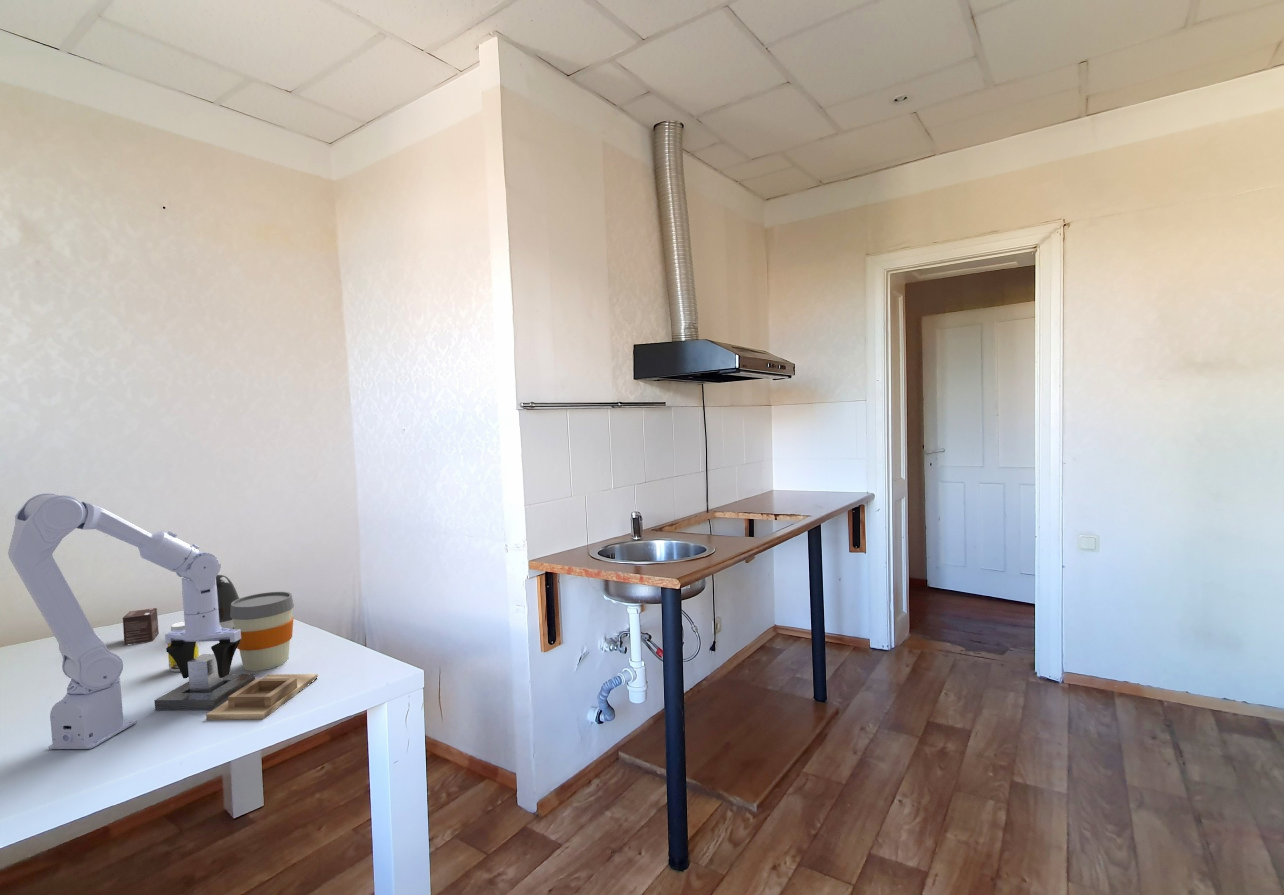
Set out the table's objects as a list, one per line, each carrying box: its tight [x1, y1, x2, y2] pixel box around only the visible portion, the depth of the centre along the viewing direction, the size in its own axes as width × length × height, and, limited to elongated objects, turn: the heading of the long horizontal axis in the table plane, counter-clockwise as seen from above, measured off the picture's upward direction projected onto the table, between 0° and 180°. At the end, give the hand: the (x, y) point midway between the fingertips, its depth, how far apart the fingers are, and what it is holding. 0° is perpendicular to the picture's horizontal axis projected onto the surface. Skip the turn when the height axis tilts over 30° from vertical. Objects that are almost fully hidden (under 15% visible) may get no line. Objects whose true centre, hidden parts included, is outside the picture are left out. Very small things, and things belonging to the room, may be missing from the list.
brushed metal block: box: [188, 653, 224, 693], centre depth 128 cm, size 4×4×8 cm
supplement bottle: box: [167, 621, 200, 673], centre depth 144 cm, size 6×6×10 cm
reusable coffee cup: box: [230, 591, 295, 672], centre depth 145 cm, size 13×13×15 cm
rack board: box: [205, 673, 319, 721], centre depth 126 cm, size 18×11×3 cm, turn 177°
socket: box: [154, 673, 256, 711], centre depth 128 cm, size 12×12×2 cm
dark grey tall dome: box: [216, 574, 240, 629], centre depth 169 cm, size 10×10×15 cm
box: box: [122, 607, 160, 646], centre depth 164 cm, size 6×6×7 cm
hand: (206, 676), depth 128 cm, fingers open, 7 cm apart
